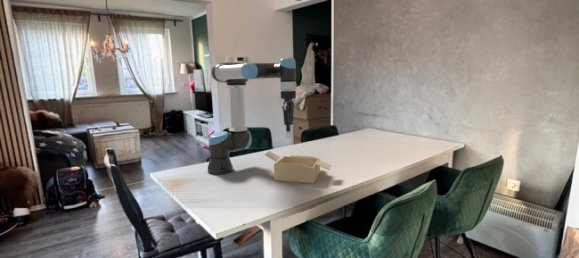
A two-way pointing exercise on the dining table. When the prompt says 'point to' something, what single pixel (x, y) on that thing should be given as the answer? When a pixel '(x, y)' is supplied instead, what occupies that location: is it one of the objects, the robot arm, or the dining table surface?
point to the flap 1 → (272, 156)
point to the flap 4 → (324, 164)
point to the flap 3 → (303, 156)
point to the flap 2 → (291, 164)
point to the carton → (297, 170)
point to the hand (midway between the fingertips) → (288, 137)
